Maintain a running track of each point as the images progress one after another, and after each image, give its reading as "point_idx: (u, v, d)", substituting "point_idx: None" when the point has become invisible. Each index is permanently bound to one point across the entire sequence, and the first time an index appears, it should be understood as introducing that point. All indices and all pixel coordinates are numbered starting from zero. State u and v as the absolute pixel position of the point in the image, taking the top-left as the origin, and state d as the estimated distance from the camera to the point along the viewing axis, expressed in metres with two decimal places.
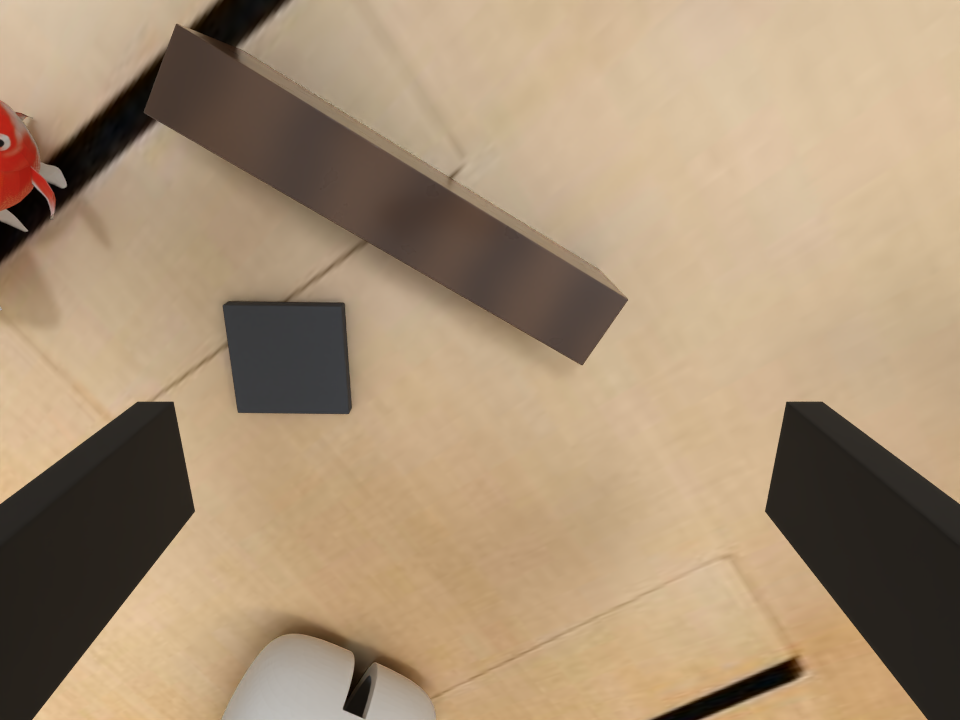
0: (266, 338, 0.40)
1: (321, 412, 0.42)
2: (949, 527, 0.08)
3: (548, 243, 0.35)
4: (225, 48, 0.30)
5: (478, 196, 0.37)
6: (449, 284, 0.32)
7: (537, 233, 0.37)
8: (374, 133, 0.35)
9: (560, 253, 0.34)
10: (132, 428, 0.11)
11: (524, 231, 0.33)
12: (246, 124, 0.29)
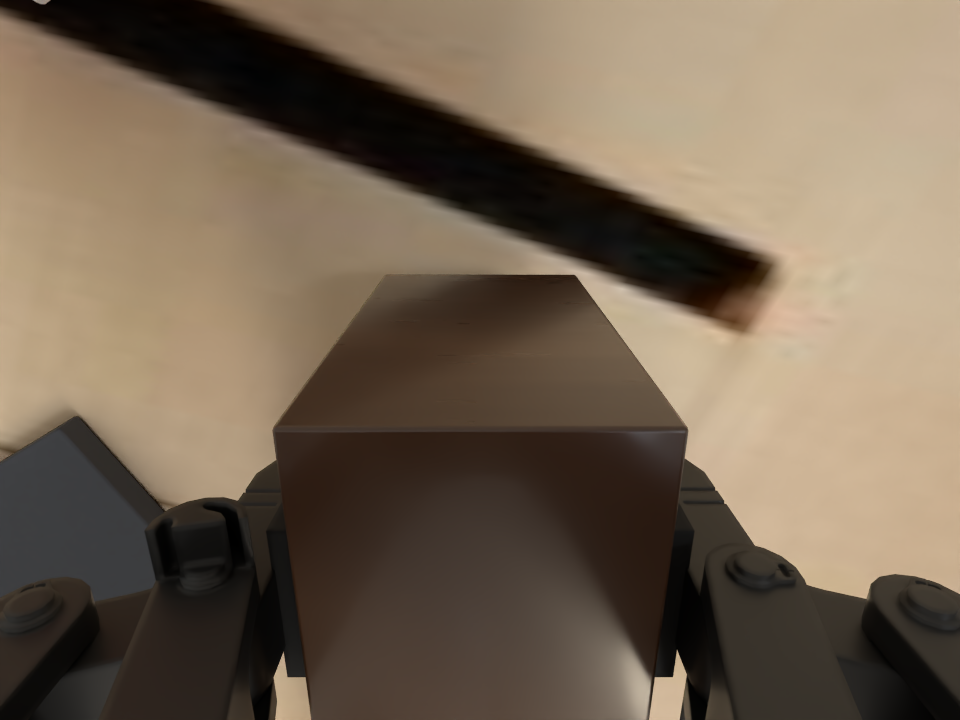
0: (62, 523, 0.19)
1: None
2: None
3: None
4: None
5: None
6: None
7: None
8: None
9: None
10: None
11: None
12: None
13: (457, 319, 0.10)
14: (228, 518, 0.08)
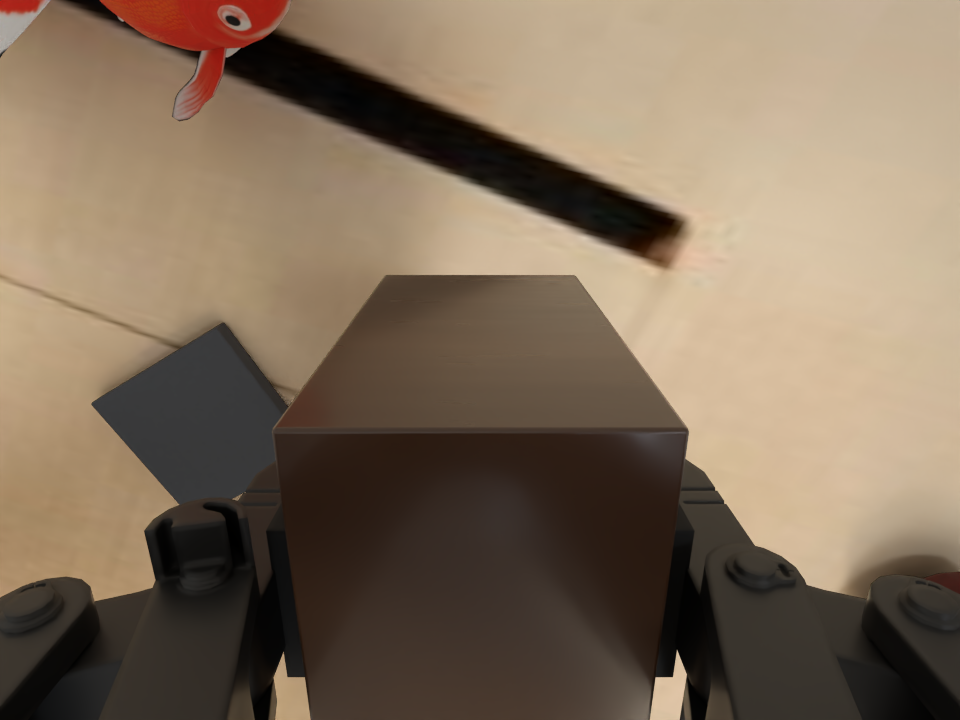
0: (212, 394, 0.29)
1: (170, 492, 0.31)
2: None
3: None
4: None
5: None
6: None
7: None
8: None
9: None
10: None
11: None
12: None
13: (456, 319, 0.10)
14: (228, 518, 0.08)
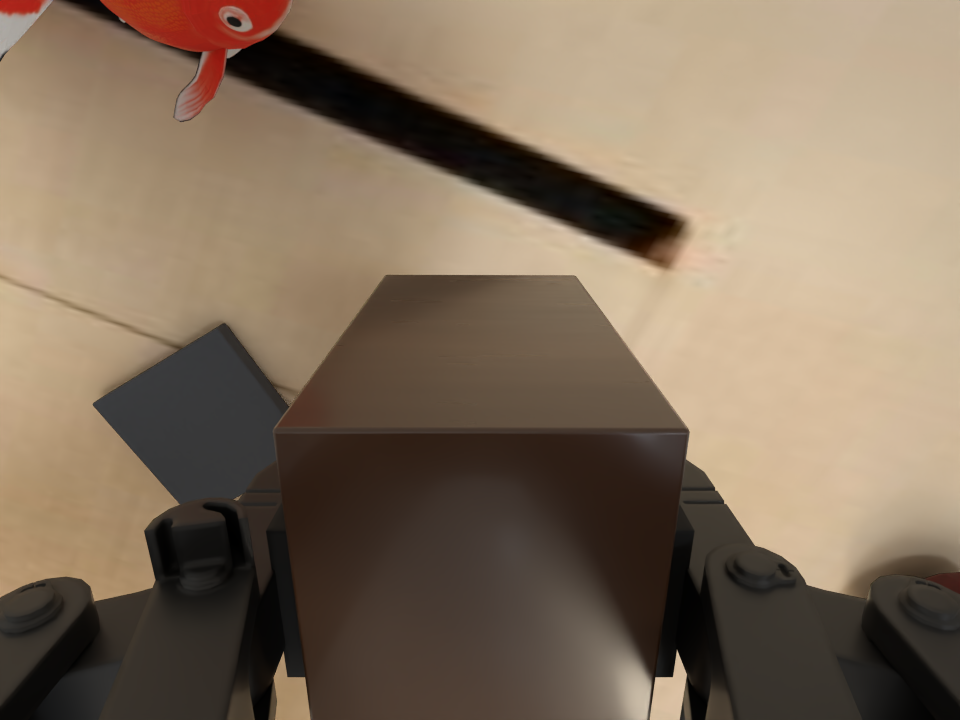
0: (213, 395, 0.29)
1: (171, 492, 0.31)
2: None
3: None
4: None
5: None
6: None
7: None
8: None
9: None
10: None
11: None
12: None
13: (457, 319, 0.10)
14: (228, 518, 0.08)
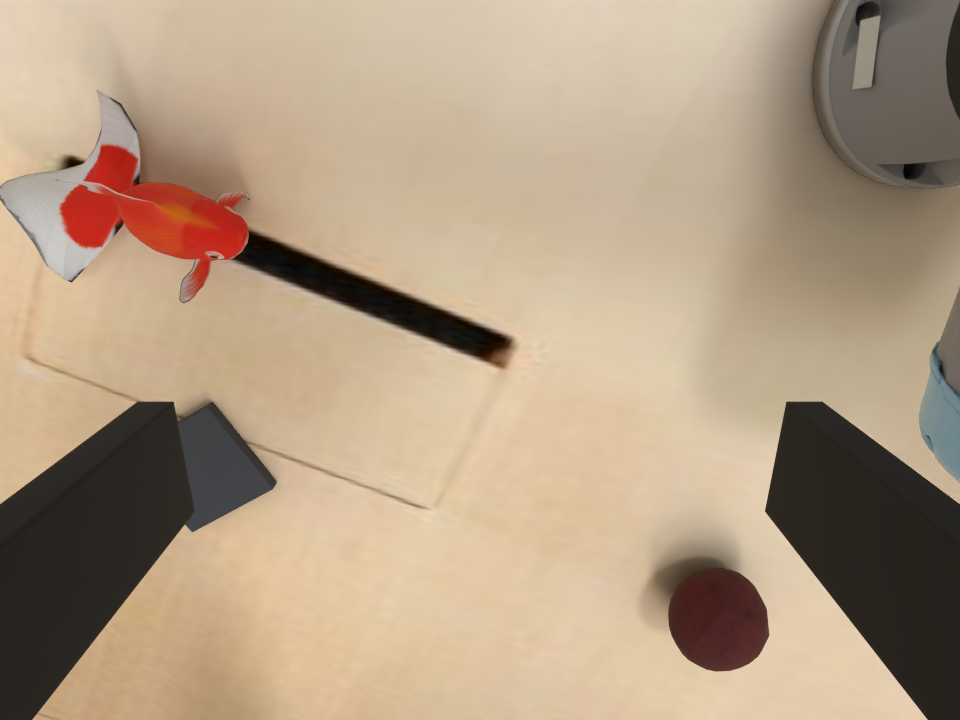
0: (205, 449, 0.44)
1: None
2: (949, 527, 0.08)
3: None
4: None
5: None
6: None
7: None
8: None
9: None
10: (132, 428, 0.11)
11: None
12: None
13: None
14: None
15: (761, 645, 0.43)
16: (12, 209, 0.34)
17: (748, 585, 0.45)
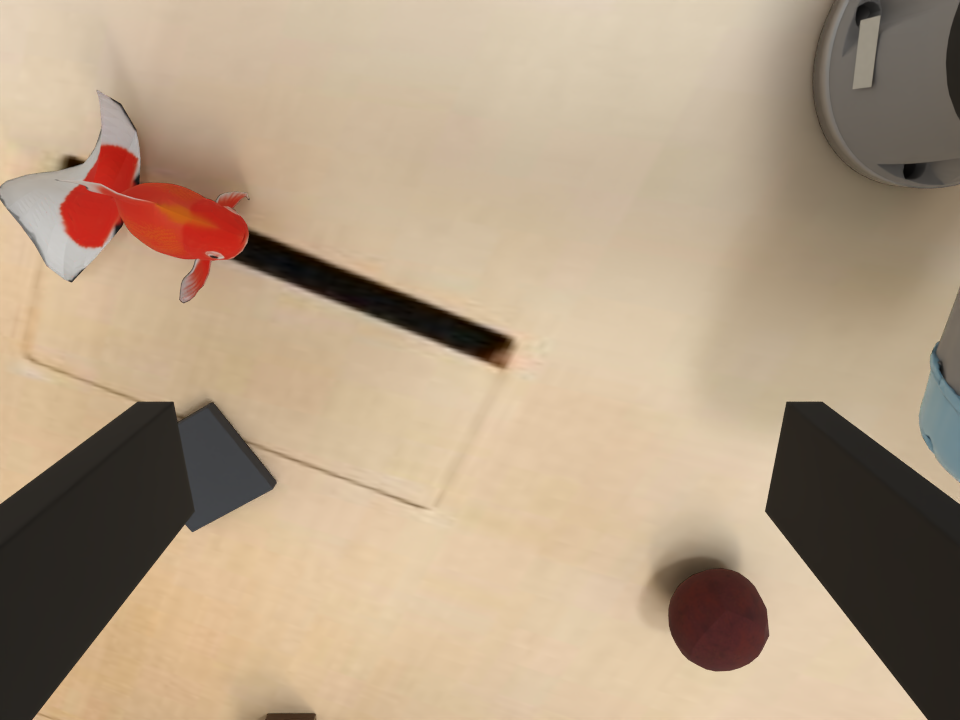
0: (205, 449, 0.44)
1: None
2: (949, 527, 0.08)
3: None
4: None
5: None
6: None
7: None
8: None
9: None
10: (132, 428, 0.11)
11: None
12: None
13: None
14: None
15: (761, 645, 0.43)
16: (12, 209, 0.34)
17: (748, 585, 0.45)
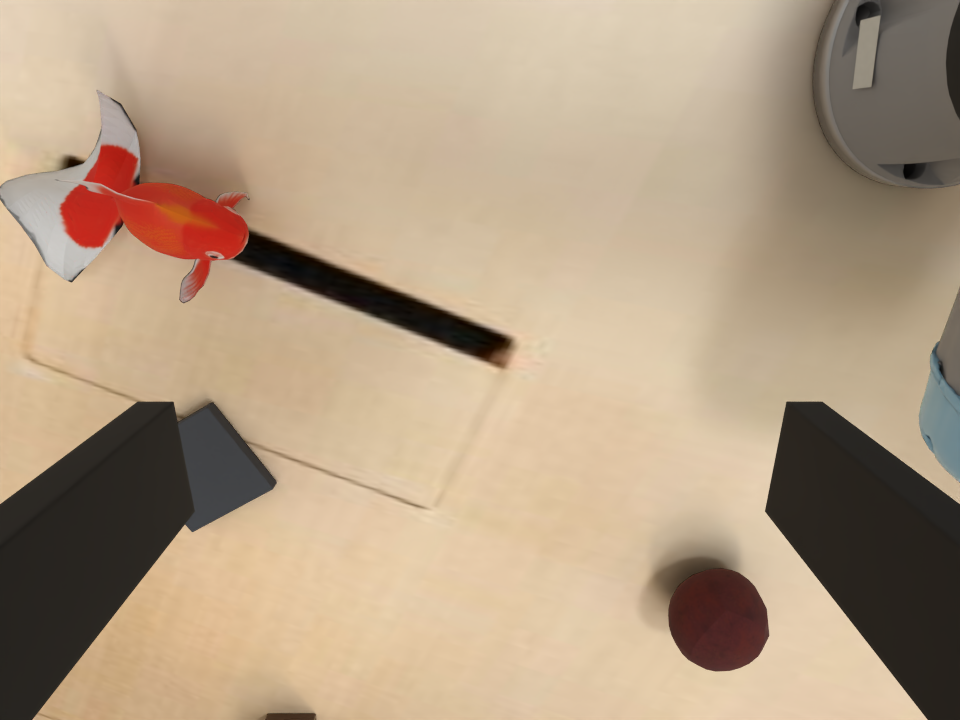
0: (205, 449, 0.44)
1: None
2: (949, 527, 0.08)
3: None
4: None
5: None
6: None
7: None
8: None
9: None
10: (132, 428, 0.11)
11: None
12: None
13: None
14: None
15: (761, 645, 0.43)
16: (12, 209, 0.34)
17: (748, 585, 0.45)
